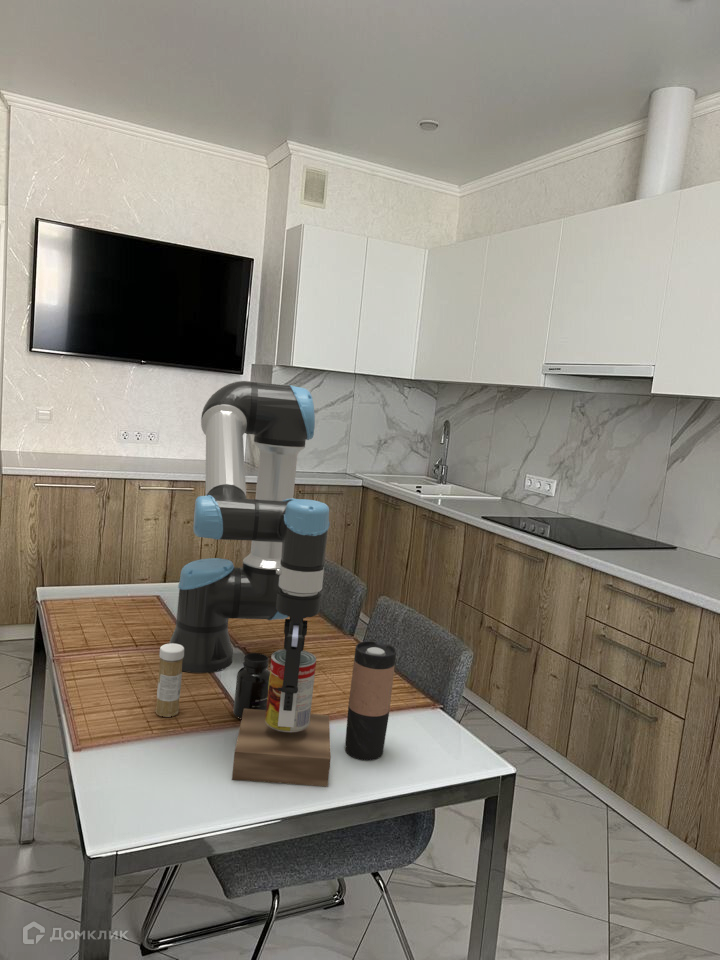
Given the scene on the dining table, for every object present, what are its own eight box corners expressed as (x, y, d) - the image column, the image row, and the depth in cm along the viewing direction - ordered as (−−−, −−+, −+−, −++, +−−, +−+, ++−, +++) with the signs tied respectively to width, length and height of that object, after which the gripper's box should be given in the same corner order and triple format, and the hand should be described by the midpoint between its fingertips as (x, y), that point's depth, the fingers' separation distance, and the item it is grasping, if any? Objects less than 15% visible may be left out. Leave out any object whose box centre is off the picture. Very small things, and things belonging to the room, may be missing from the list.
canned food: (282, 707, 137) (289, 645, 135) (318, 721, 133) (325, 657, 131) (255, 722, 130) (262, 656, 128) (292, 737, 126) (299, 670, 124)
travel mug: (354, 764, 133) (367, 658, 130) (336, 743, 140) (348, 642, 137) (391, 758, 137) (404, 654, 134) (372, 738, 143) (384, 639, 141)
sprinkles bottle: (161, 705, 147) (166, 640, 145) (183, 710, 146) (188, 644, 144) (150, 715, 142) (155, 648, 141) (172, 720, 142) (178, 653, 140)
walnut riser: (241, 733, 139) (243, 708, 139) (326, 739, 141) (329, 715, 140) (232, 779, 124) (234, 751, 123) (327, 786, 125) (330, 758, 124)
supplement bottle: (261, 725, 144) (266, 666, 142) (227, 718, 145) (233, 660, 143) (272, 710, 150) (278, 654, 149) (240, 704, 151) (245, 648, 150)
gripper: (280, 572, 138) (269, 688, 141) (274, 606, 117) (261, 741, 121) (320, 575, 138) (308, 691, 142) (321, 611, 118) (307, 745, 121)
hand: (286, 714), depth 131 cm, fingers closed on canned food, 8 cm apart
